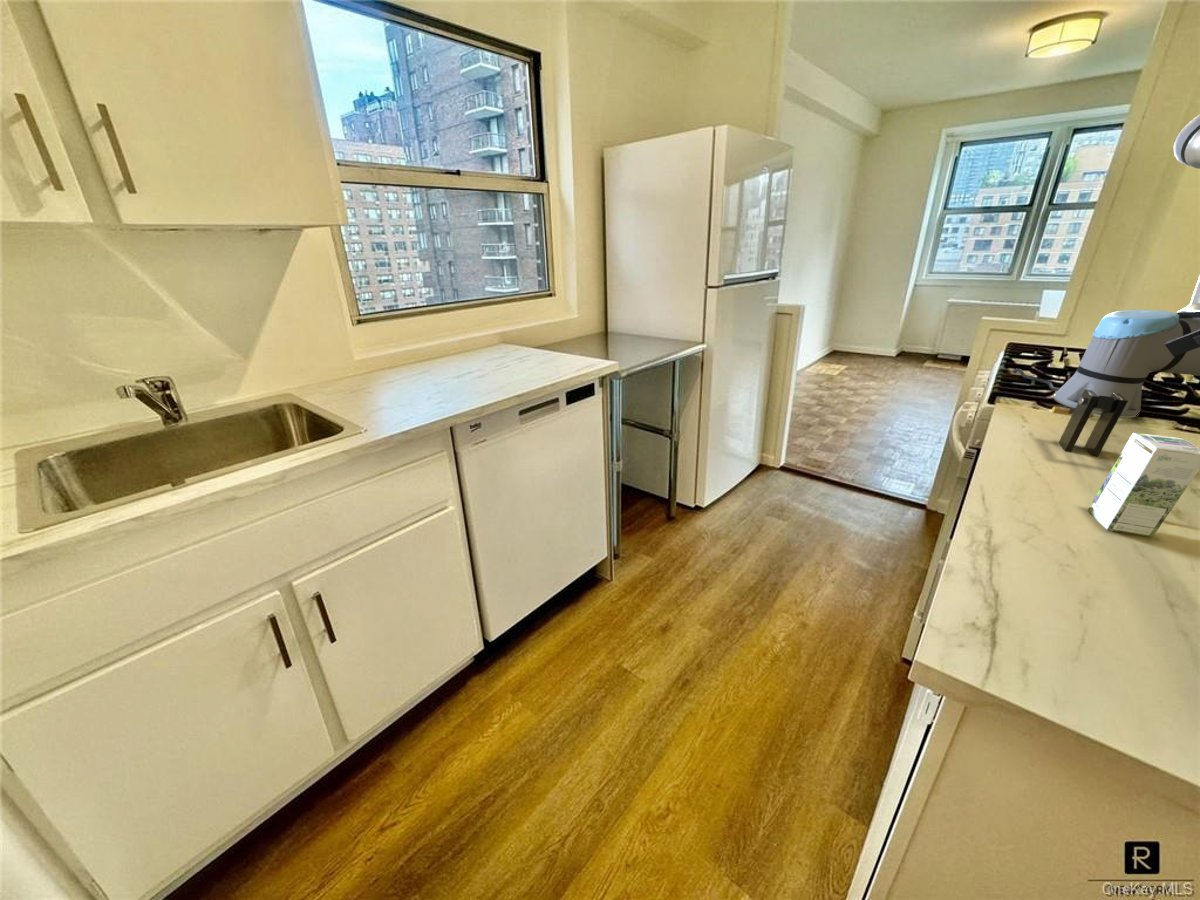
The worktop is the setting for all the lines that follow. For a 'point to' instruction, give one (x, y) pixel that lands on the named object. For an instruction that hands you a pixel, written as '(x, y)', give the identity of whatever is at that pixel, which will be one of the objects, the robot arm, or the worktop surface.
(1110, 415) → the bracket
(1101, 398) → the tap lever
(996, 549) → the worktop surface
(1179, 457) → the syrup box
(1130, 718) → the worktop surface
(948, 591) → the worktop surface
